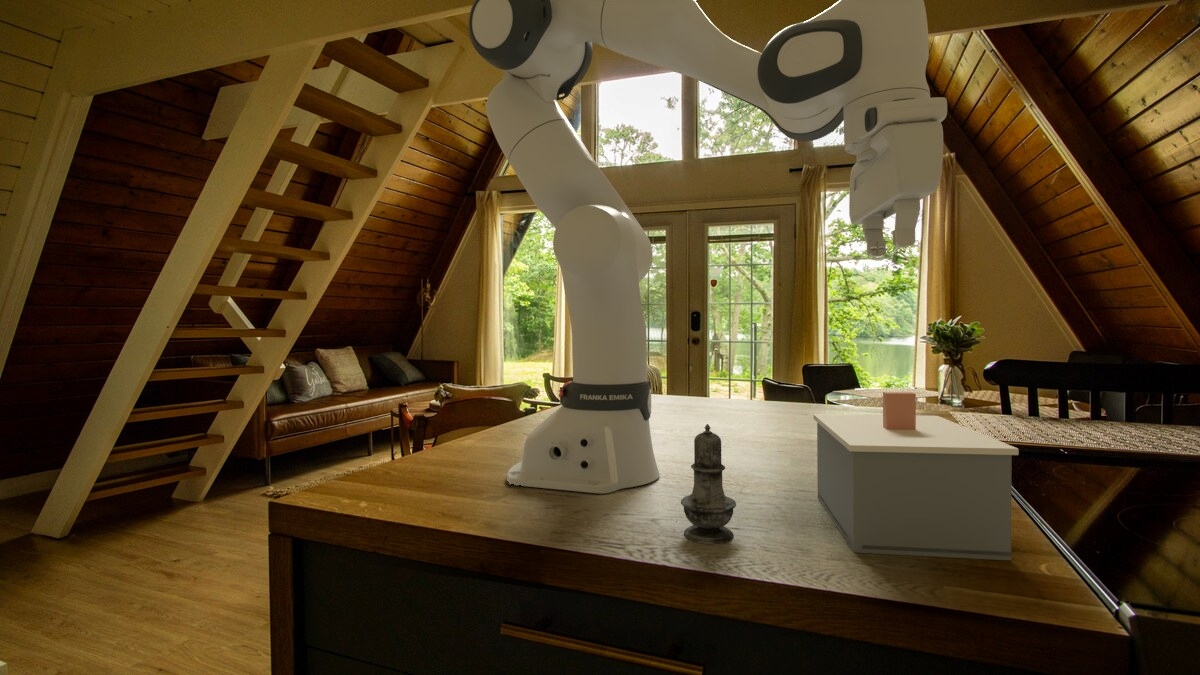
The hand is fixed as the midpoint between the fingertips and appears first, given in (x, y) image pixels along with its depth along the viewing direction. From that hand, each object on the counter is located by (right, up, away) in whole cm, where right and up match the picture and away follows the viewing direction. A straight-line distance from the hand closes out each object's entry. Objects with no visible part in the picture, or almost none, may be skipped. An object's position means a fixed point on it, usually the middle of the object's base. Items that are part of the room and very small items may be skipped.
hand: (889, 251), depth 66 cm
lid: (0, -21, -2) cm, 21 cm away
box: (0, -31, -1) cm, 31 cm away
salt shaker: (-21, -31, -4) cm, 38 cm away
